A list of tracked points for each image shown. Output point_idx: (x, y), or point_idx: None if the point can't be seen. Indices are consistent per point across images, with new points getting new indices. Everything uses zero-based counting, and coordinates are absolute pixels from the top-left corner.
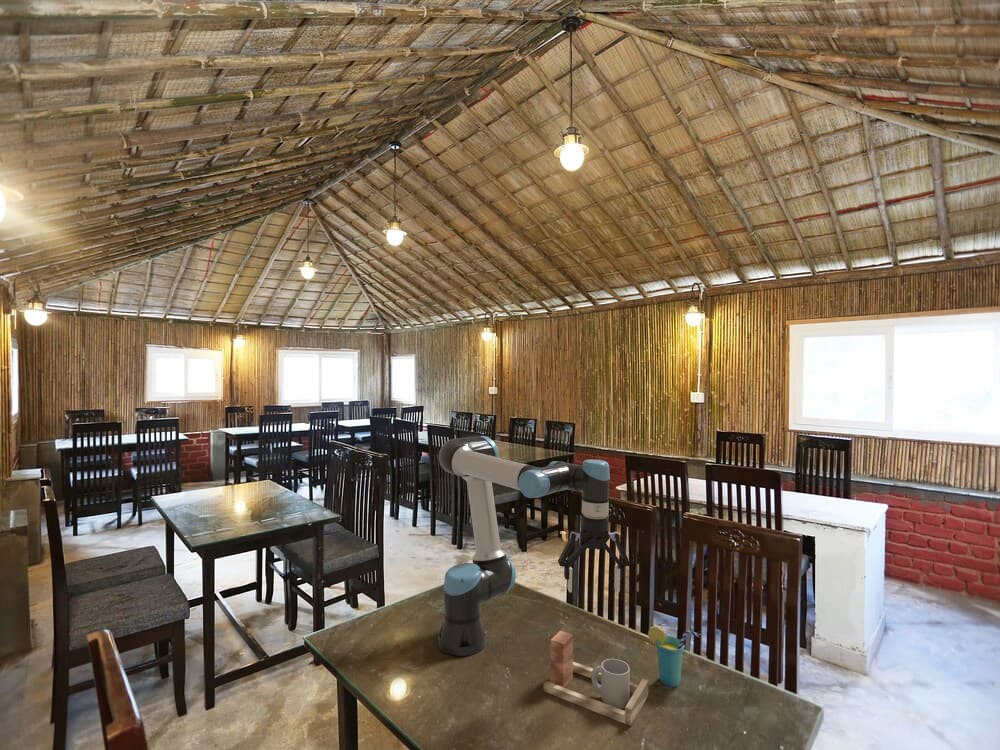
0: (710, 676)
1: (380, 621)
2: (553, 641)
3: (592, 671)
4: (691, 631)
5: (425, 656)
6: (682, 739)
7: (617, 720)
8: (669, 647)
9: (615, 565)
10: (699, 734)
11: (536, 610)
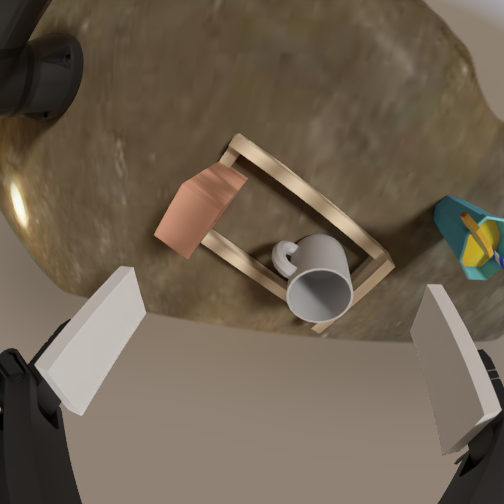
0: None
1: None
2: (162, 239)
3: (272, 259)
4: None
5: (20, 129)
6: (378, 338)
7: None
8: (484, 234)
9: (488, 415)
10: (406, 332)
11: None
